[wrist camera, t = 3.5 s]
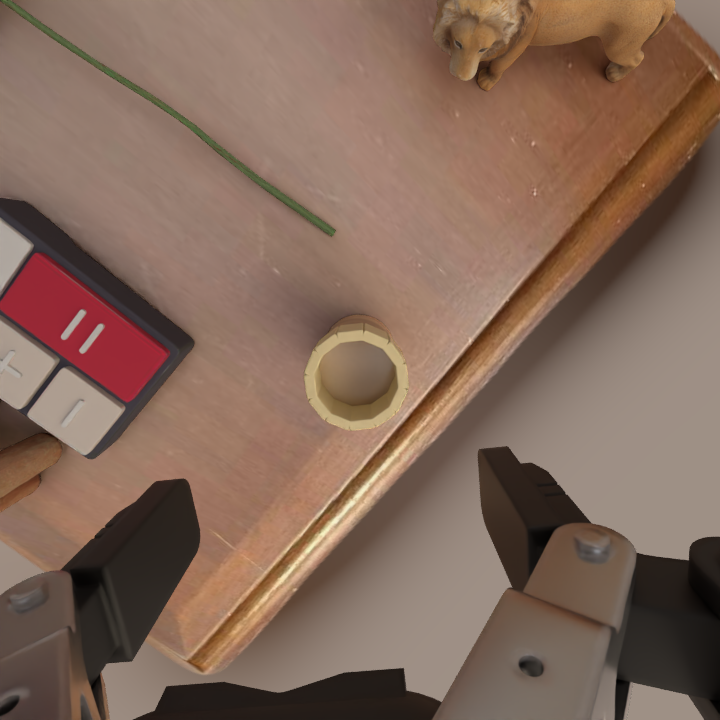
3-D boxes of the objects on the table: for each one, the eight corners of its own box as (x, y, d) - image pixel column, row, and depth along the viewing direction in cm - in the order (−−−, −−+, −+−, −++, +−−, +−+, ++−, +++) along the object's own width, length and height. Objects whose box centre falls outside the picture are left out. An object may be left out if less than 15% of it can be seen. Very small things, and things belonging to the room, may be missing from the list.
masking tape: (317, 418, 26) (312, 435, 24) (304, 329, 25) (297, 336, 23) (408, 408, 26) (412, 424, 24) (399, 318, 25) (403, 324, 22)
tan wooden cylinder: (328, 387, 32) (320, 415, 26) (319, 318, 31) (308, 332, 25) (397, 379, 32) (404, 406, 26) (390, 310, 31) (396, 321, 25)
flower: (293, 310, 25) (-367, -103, 17) (293, 285, 35) (-122, 17, 27) (400, 145, 24) (-284, -421, 15) (368, 167, 33) (-53, -165, 25)
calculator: (85, 468, 30) (-120, 327, 27) (117, 441, 34) (-58, 316, 31) (178, 354, 28) (-33, 189, 25) (200, 340, 32) (22, 197, 29)
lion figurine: (424, 125, 28) (451, 64, 19) (411, 34, 27) (433, -76, 18) (653, 76, 27) (791, -13, 18) (650, -21, 26) (794, -164, 17)
